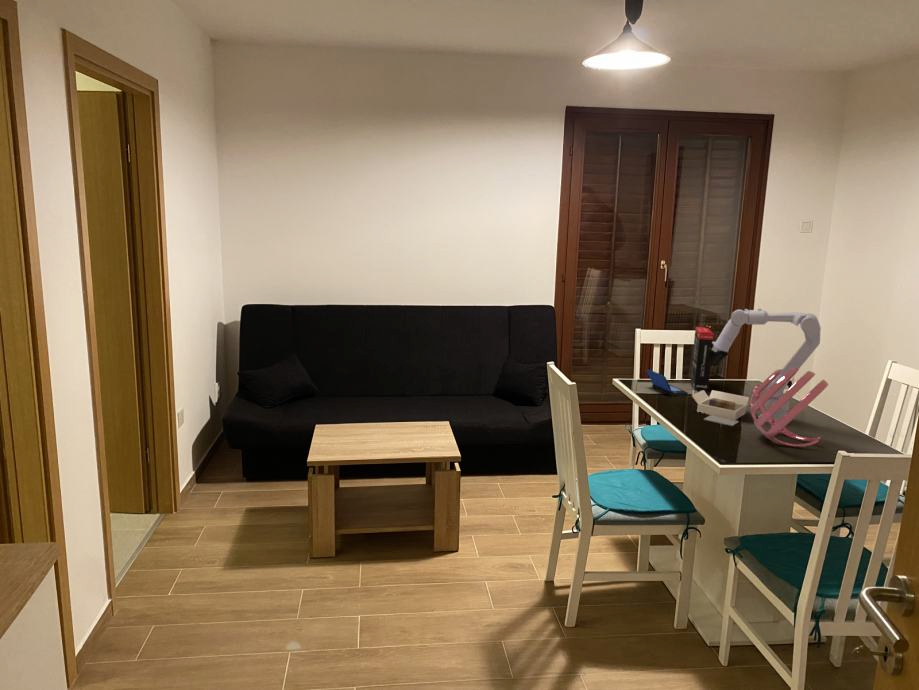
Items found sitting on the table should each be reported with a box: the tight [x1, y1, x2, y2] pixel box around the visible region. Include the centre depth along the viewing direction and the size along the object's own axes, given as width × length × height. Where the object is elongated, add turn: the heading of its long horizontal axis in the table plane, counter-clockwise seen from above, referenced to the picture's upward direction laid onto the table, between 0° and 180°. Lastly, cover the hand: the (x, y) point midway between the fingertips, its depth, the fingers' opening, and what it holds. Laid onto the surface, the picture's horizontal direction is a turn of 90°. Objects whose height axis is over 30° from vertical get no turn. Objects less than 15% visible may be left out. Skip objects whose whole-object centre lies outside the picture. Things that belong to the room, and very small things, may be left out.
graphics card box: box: [689, 326, 715, 392], centre depth 319 cm, size 17×7×27 cm, turn 168°
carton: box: [691, 389, 756, 421], centre depth 279 cm, size 21×16×6 cm
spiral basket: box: [749, 368, 829, 448], centre depth 242 cm, size 28×28×27 cm
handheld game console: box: [646, 368, 689, 396], centre depth 308 cm, size 16×13×9 cm
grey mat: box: [703, 415, 740, 427], centre depth 266 cm, size 11×8×1 cm
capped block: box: [709, 398, 735, 411], centre depth 278 cm, size 9×4×5 cm, turn 51°
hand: (710, 365), depth 281 cm, fingers open, 7 cm apart
